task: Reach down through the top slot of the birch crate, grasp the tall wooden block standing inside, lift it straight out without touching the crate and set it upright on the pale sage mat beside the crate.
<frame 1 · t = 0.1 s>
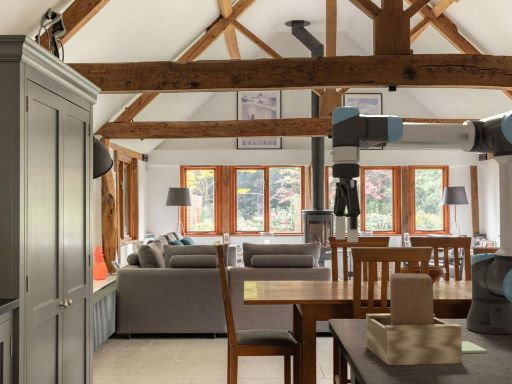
hand: (346, 240, 160), 28 cm above the countertop, fingers open, 13 cm apart
crate: (411, 354, 148), on the countertop
wooden block: (411, 355, 148), resting in crate
mat: (459, 348, 154), on the countertop
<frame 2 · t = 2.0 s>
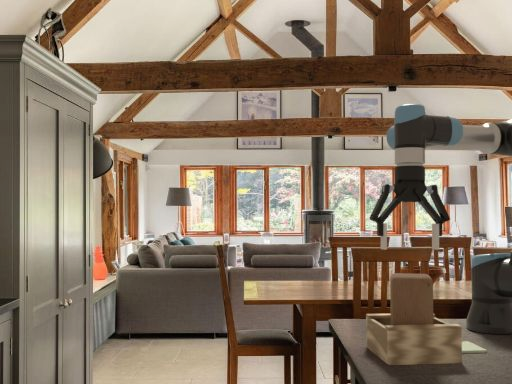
hand: (409, 249, 148), 26 cm above the countertop, fingers open, 13 cm apart
nothing on the countertop moved.
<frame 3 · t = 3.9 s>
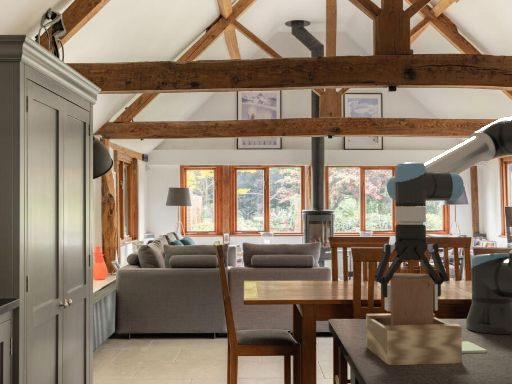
hand: (411, 310, 148), 11 cm above the countertop, fingers closed on wooden block, 11 cm apart
wooden block: (411, 355, 148), resting in crate, touching gripper
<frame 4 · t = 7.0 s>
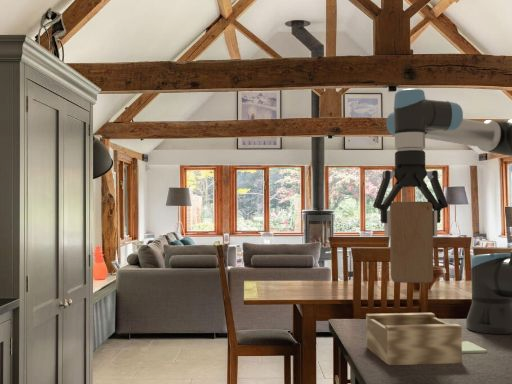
hand: (410, 236, 149), 30 cm above the countertop, fingers closed on wooden block, 11 cm apart
wooden block: (411, 281, 148), point 18 cm above the countertop, touching gripper
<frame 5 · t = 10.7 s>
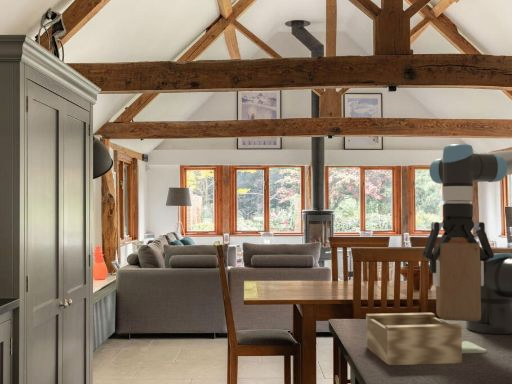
hand: (458, 285, 155), 17 cm above the countertop, fingers closed on wooden block, 11 cm apart
wooden block: (458, 319, 155), point 7 cm above the countertop, touching crate, gripper
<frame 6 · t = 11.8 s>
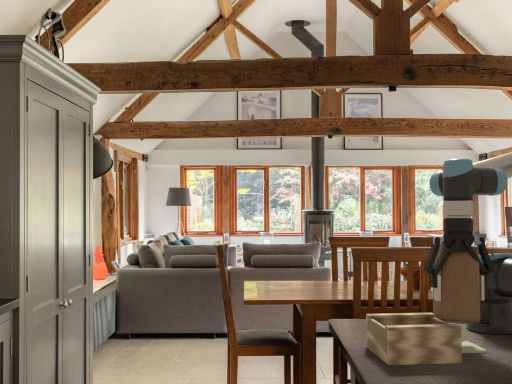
hand: (459, 300, 155), 13 cm above the countertop, fingers closed on wooden block, 11 cm apart
wooden block: (455, 323, 155), point 7 cm above the countertop, touching crate, gripper, hand
when the fingers open (13 cm above the countertop, at t = 12.6 s): wooden block drops 6 cm, resting on mat.
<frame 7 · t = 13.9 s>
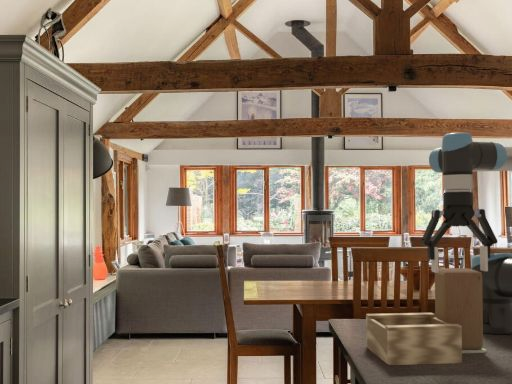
hand: (459, 271, 155), 20 cm above the countertop, fingers open, 13 cm apart
wooden block: (458, 346, 155), resting on mat
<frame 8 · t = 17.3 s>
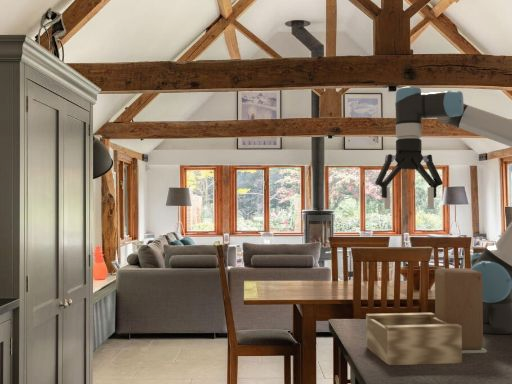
hand: (409, 209, 177), 37 cm above the countertop, fingers open, 13 cm apart
nothing on the countertop moved.
at the end: wooden block 0.4 cm from the mat (horizontally); wooden block tilted 0°; the gripper is holding nothing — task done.
